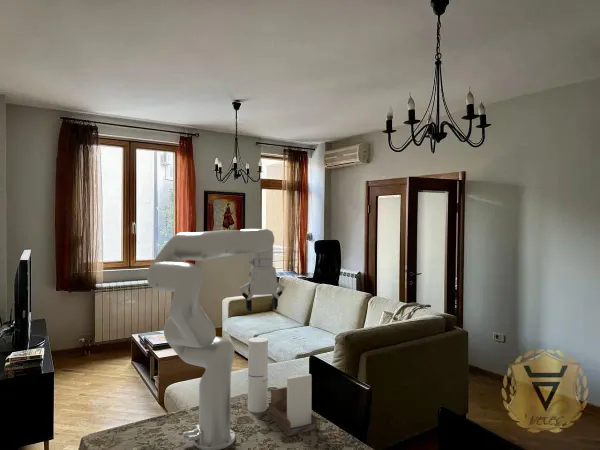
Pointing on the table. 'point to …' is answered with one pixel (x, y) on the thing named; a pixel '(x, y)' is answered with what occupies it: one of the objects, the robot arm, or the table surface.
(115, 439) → the table surface
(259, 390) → the cylindrical container
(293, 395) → the block
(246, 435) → the table surface
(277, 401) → the brown wooden tray
